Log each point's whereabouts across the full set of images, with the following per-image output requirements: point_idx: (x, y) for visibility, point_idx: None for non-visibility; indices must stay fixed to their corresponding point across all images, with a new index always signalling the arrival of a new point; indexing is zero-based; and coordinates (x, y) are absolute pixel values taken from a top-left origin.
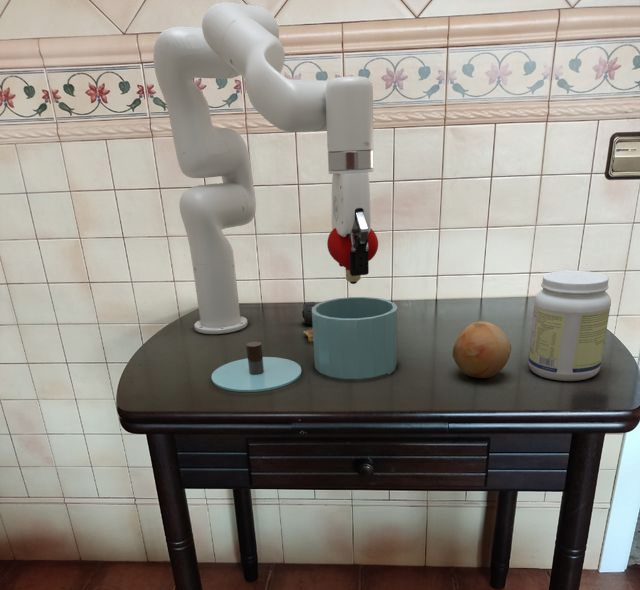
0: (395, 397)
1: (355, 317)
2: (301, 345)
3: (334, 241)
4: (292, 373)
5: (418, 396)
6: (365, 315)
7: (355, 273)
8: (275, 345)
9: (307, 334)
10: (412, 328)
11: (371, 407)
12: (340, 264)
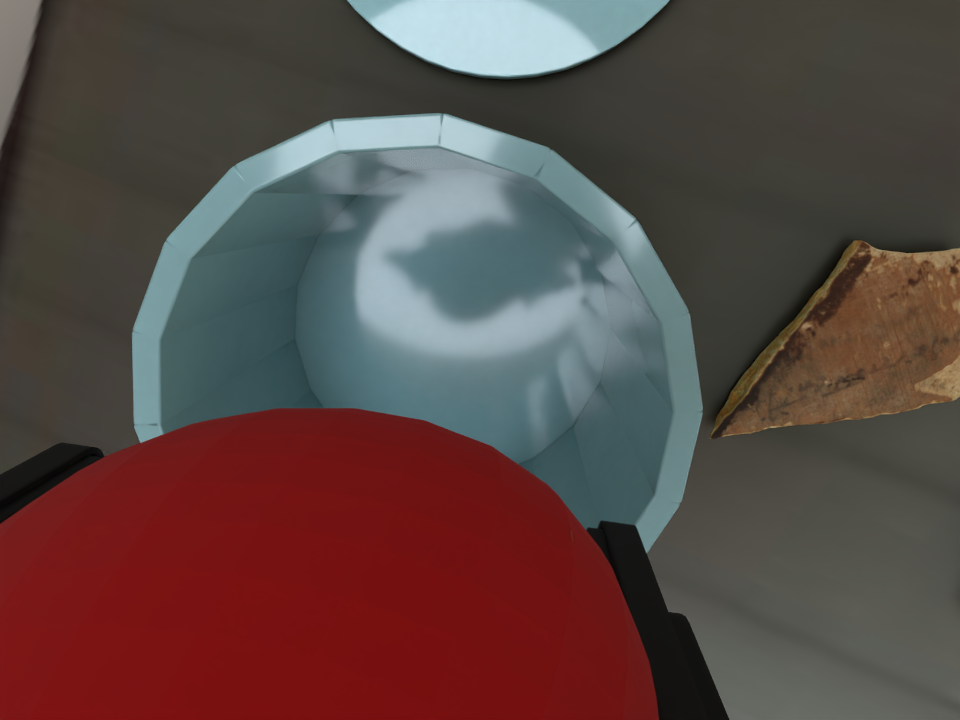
0: (102, 339)
1: (618, 457)
2: (851, 201)
3: (11, 556)
4: (414, 8)
5: (89, 412)
6: (587, 508)
7: None
8: (938, 68)
9: (912, 253)
10: (774, 713)
11: (39, 226)
12: (590, 531)
